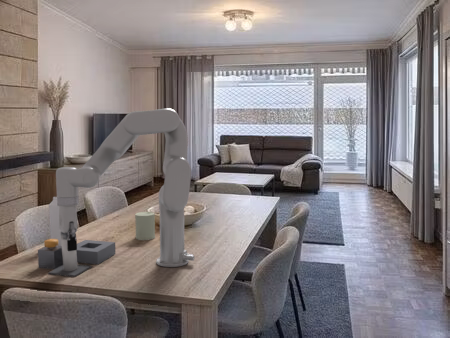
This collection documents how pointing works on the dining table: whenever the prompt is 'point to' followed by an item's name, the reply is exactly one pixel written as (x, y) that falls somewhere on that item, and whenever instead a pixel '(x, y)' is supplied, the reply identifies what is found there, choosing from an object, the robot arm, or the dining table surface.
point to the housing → (94, 251)
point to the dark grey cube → (50, 257)
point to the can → (145, 225)
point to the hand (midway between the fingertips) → (69, 247)
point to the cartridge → (68, 255)
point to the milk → (54, 221)
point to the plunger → (51, 243)
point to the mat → (70, 273)
